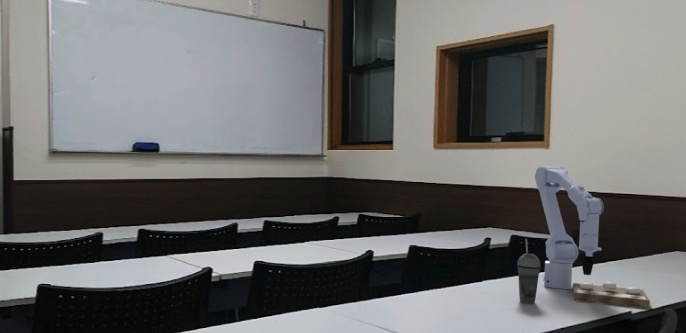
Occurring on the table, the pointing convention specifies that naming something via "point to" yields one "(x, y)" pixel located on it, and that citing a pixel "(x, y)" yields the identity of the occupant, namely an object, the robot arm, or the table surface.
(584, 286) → the button left
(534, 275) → the beverage cup
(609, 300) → the button board
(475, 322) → the table surface
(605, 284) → the button middle
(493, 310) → the table surface
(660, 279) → the table surface
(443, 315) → the table surface
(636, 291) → the button right
